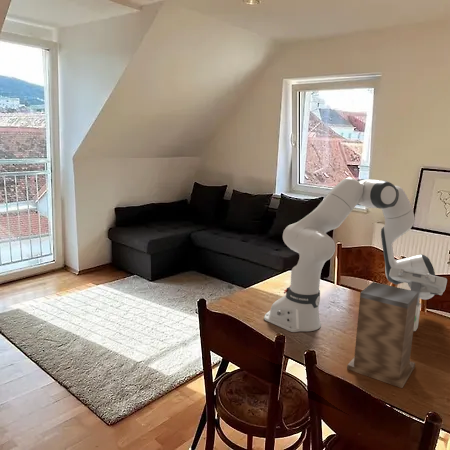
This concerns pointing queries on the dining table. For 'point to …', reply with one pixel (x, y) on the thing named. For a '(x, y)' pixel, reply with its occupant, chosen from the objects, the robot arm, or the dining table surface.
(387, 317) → the stand
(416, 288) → the block
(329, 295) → the dining table surface
